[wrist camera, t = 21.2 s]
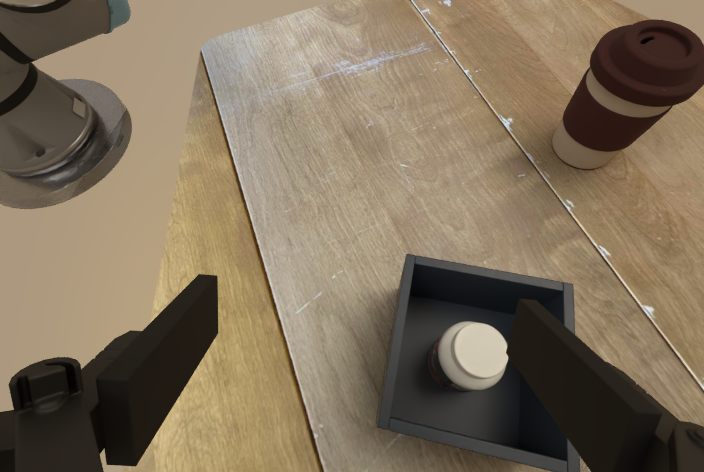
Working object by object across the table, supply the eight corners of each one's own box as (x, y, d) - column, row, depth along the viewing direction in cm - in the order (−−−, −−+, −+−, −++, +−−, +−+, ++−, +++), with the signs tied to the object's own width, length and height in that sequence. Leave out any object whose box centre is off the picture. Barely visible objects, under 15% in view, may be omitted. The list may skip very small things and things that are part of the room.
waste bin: (375, 422, 34) (376, 427, 26) (398, 287, 40) (406, 253, 31) (524, 459, 33) (580, 478, 24) (526, 312, 38) (573, 283, 29)
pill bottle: (425, 335, 37) (442, 312, 28) (478, 335, 37) (513, 313, 28) (428, 392, 35) (448, 387, 26) (486, 394, 34) (526, 389, 25)
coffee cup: (630, 181, 44) (743, 81, 31) (546, 178, 45) (621, 80, 32) (611, 119, 49) (703, 7, 35) (534, 117, 49) (596, 8, 36)
